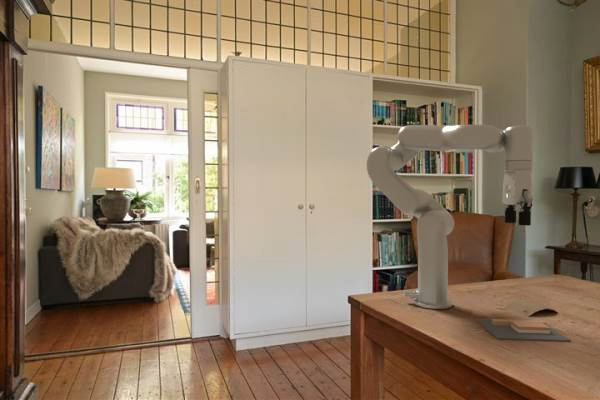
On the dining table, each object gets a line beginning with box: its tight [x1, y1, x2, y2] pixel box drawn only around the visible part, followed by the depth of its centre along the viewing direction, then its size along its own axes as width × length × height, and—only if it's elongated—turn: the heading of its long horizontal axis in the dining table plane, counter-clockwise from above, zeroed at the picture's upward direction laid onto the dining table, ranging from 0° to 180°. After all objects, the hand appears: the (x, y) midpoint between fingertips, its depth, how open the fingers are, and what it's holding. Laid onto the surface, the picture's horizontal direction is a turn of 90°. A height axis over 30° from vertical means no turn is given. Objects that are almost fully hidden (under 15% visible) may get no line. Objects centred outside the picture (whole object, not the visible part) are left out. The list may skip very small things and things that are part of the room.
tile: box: [511, 321, 551, 334], centre depth 111 cm, size 8×2×5 cm
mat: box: [475, 318, 572, 343], centre depth 112 cm, size 18×16×2 cm
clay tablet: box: [503, 299, 557, 317], centre depth 131 cm, size 14×10×3 cm
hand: (517, 224), depth 123 cm, fingers open, 9 cm apart
